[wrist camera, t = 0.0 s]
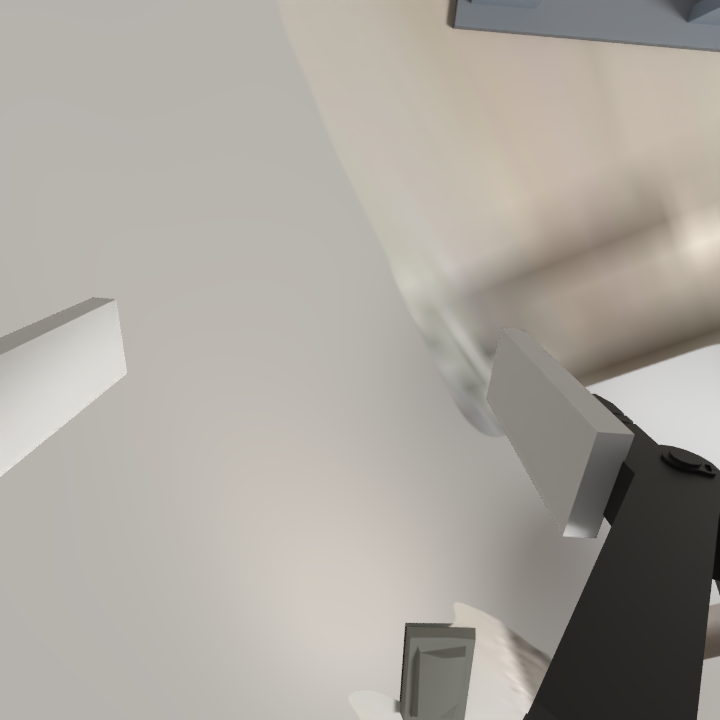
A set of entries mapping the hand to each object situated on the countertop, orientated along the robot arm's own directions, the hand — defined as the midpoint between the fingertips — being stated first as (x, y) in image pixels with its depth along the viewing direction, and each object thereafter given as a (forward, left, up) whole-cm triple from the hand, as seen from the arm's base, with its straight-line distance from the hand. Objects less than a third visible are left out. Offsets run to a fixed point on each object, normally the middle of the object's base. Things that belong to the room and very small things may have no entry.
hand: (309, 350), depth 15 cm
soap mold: (+62, +18, -29) cm, 70 cm away
